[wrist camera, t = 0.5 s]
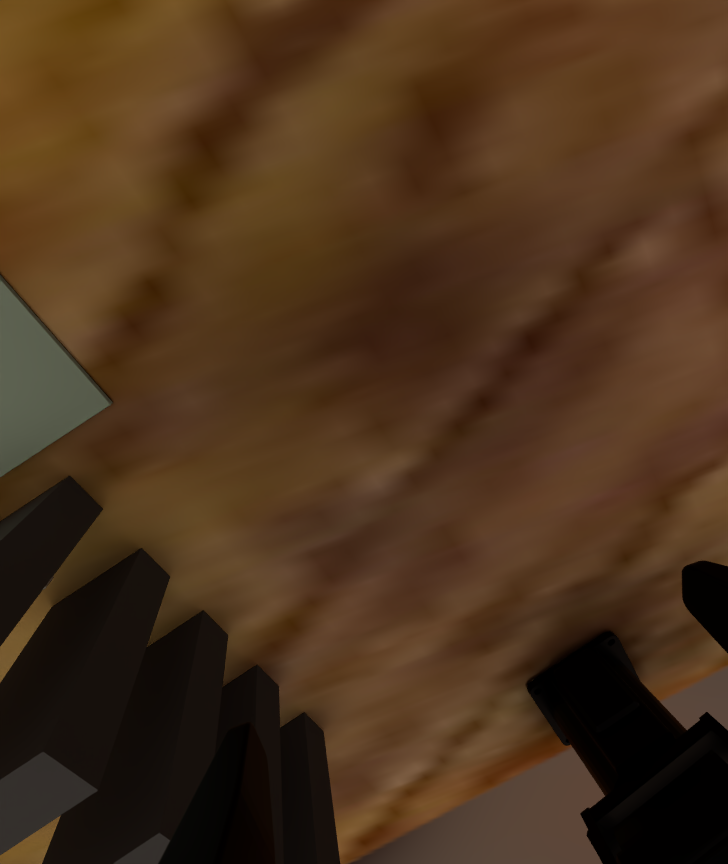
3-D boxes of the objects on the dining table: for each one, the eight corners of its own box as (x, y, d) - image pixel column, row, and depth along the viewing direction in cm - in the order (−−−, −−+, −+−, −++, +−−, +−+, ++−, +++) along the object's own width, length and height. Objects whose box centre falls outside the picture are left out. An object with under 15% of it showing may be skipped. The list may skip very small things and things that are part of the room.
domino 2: (229, 637, 24) (205, 865, 14) (148, 690, 24) (71, 954, 14) (203, 610, 23) (159, 832, 14) (119, 665, 23) (17, 927, 13)
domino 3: (280, 688, 25) (288, 923, 16) (204, 738, 25) (167, 1003, 16) (257, 664, 24) (250, 897, 15) (178, 716, 24) (123, 981, 15)
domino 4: (324, 733, 27) (355, 971, 17) (253, 780, 27) (245, 1044, 17) (304, 712, 26) (324, 949, 17) (230, 760, 26) (210, 1025, 17)
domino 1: (172, 578, 22) (101, 793, 13) (85, 636, 22) (-49, 893, 13) (141, 548, 21) (43, 751, 12) (51, 607, 21) (-118, 857, 12)
